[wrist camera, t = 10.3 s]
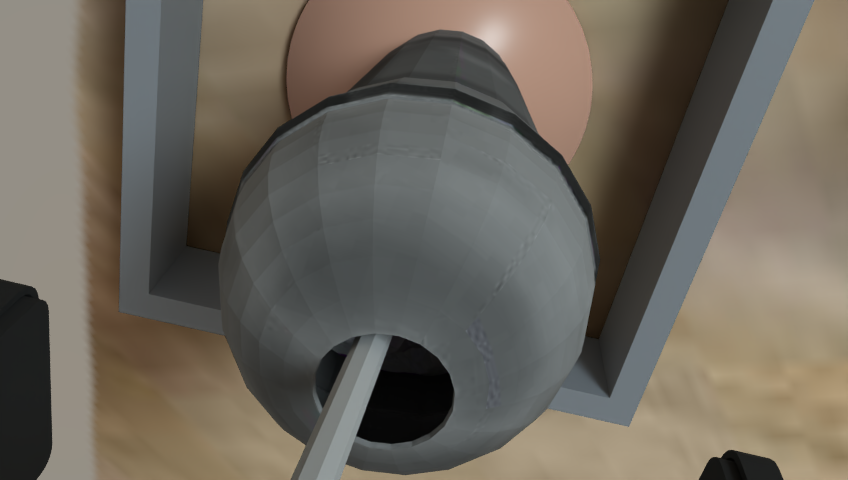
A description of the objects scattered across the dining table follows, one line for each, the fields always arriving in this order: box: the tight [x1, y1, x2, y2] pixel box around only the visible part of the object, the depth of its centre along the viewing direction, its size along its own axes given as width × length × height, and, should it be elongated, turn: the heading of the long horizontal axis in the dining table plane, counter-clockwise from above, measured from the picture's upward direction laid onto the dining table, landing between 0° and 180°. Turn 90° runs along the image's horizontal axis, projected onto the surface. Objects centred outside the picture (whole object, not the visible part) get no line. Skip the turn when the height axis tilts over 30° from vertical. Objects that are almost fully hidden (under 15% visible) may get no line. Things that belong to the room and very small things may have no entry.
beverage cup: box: [218, 29, 600, 480], centre depth 16 cm, size 7×7×20 cm
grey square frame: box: [119, 0, 814, 427], centre depth 24 cm, size 18×18×4 cm
